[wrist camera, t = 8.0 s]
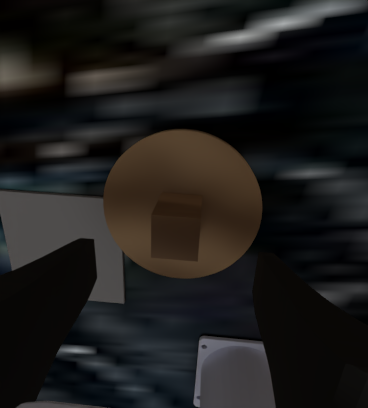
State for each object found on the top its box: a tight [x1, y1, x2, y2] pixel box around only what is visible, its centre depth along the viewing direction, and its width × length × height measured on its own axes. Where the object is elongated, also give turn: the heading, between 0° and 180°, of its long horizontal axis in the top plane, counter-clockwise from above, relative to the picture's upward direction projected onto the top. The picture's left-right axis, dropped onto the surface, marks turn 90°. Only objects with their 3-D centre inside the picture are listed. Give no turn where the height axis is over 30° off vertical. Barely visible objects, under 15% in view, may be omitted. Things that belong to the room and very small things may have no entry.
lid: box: [103, 129, 262, 278], centre depth 17 cm, size 10×10×4 cm
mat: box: [0, 189, 125, 304], centre depth 24 cm, size 10×10×1 cm
